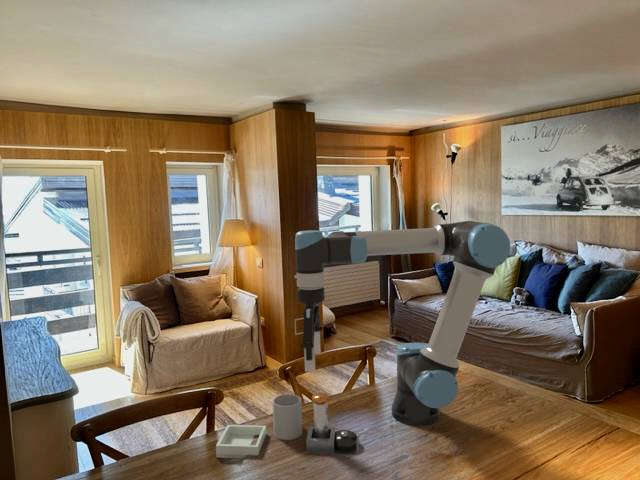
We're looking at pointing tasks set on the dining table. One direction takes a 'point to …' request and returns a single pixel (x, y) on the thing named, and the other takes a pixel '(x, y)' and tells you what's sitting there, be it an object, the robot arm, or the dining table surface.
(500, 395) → the dining table surface
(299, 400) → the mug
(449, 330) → the robot arm
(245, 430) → the tray
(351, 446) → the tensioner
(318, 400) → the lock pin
